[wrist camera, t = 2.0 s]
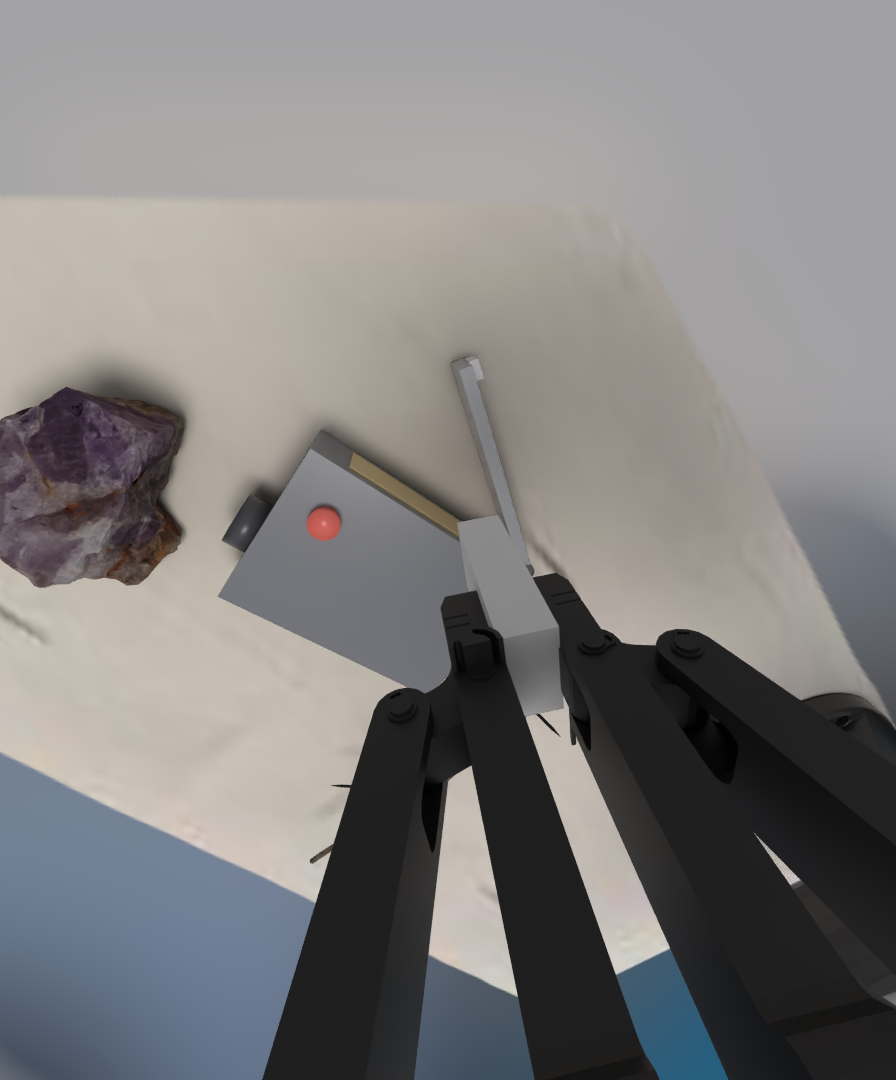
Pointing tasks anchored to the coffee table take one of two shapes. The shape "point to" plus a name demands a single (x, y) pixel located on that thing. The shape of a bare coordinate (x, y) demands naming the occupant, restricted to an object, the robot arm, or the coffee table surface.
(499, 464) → the side door
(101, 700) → the coffee table surface
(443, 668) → the camera body
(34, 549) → the rock
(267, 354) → the coffee table surface
